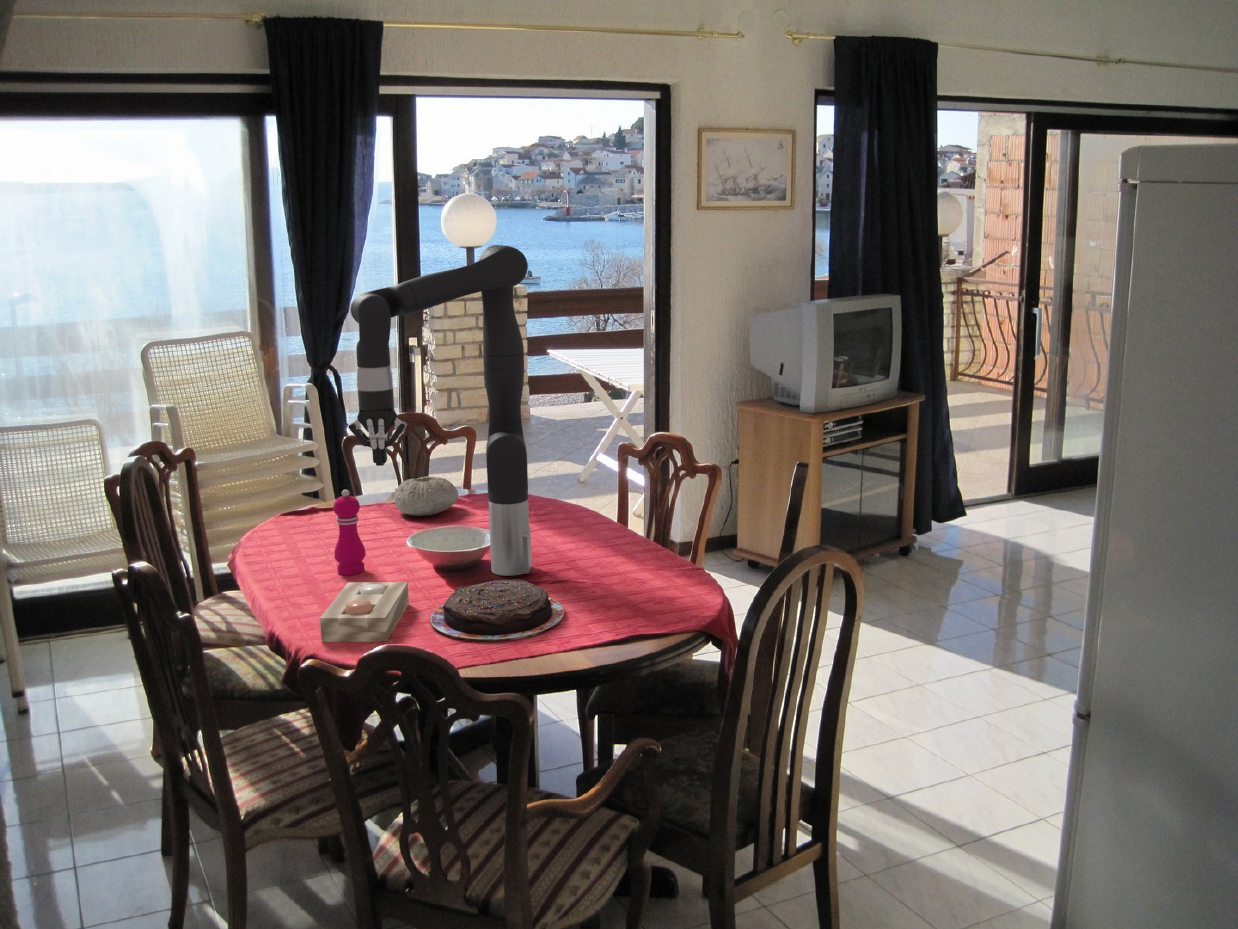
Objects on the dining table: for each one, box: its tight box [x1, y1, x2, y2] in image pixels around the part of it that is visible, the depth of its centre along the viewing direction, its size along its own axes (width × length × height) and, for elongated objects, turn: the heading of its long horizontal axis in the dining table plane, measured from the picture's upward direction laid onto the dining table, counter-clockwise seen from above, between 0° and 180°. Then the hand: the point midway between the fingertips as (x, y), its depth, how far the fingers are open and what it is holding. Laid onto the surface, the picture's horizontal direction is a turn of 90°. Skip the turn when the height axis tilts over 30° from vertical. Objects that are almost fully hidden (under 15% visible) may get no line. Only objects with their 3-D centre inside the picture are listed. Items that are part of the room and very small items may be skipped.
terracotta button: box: [346, 600, 371, 614], centre depth 237 cm, size 5×5×3 cm
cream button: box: [360, 584, 385, 594], centre depth 248 cm, size 5×5×3 cm
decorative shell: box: [393, 475, 459, 517], centre depth 327 cm, size 18×18×10 cm
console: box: [319, 581, 410, 643], centre depth 243 cm, size 13×22×5 cm, turn 178°
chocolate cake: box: [429, 578, 565, 644], centre depth 244 cm, size 28×28×7 cm
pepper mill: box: [333, 489, 366, 577], centre depth 275 cm, size 7×7×20 cm
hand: (380, 464), depth 256 cm, fingers closed
